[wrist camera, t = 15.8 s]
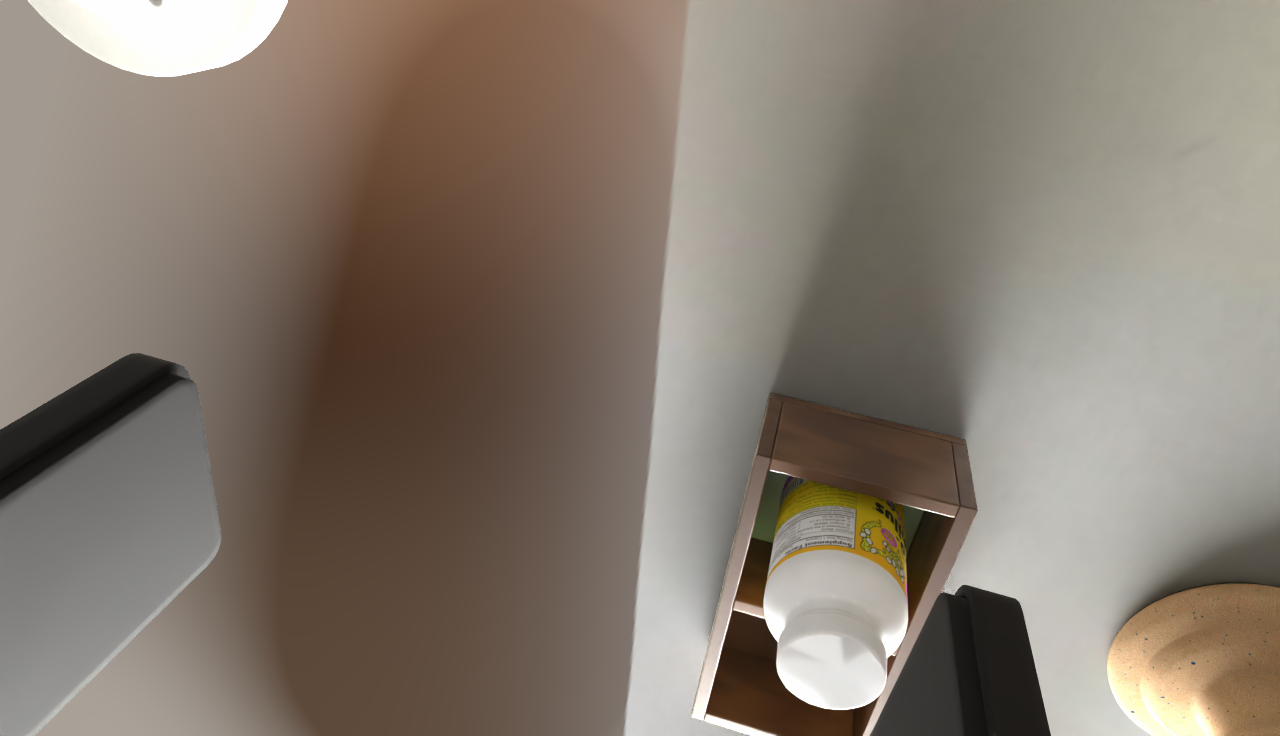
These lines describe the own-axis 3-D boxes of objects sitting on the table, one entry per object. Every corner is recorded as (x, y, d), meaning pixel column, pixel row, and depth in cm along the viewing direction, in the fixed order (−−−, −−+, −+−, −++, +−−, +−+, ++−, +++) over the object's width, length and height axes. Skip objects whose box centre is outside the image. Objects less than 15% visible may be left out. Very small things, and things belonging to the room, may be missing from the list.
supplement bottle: (910, 538, 46) (920, 731, 35) (794, 543, 48) (769, 725, 37) (895, 439, 43) (900, 615, 32) (772, 449, 45) (739, 616, 34)
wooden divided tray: (708, 642, 55) (690, 717, 50) (769, 392, 44) (755, 453, 39) (864, 688, 53) (862, 770, 48) (966, 439, 43) (978, 510, 38)
